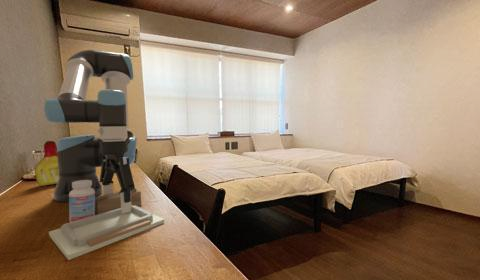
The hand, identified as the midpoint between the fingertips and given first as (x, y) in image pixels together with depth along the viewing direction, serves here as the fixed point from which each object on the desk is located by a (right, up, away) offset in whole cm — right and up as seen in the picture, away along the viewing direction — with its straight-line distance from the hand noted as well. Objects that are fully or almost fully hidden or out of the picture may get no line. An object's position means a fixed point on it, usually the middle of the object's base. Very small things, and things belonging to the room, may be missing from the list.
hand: (117, 208), depth 70 cm
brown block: (-1, -1, +2) cm, 3 cm away
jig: (+5, -2, -12) cm, 13 cm away
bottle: (-47, +1, +32) cm, 57 cm away
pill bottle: (-6, -2, -7) cm, 9 cm away
